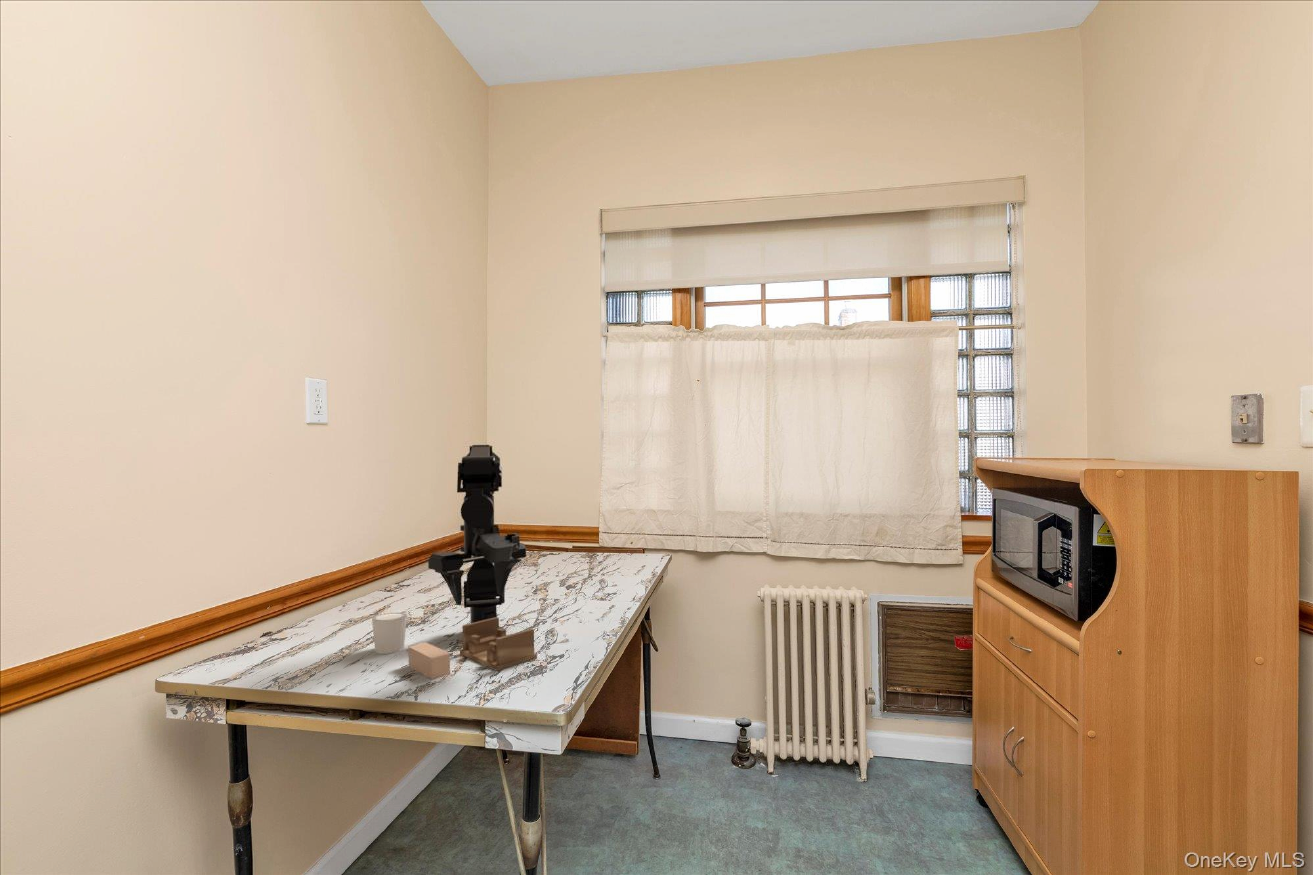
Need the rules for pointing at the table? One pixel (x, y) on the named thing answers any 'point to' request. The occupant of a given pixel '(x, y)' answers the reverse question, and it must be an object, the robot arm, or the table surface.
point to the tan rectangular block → (429, 660)
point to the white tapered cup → (389, 632)
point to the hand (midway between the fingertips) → (480, 599)
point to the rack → (497, 644)
